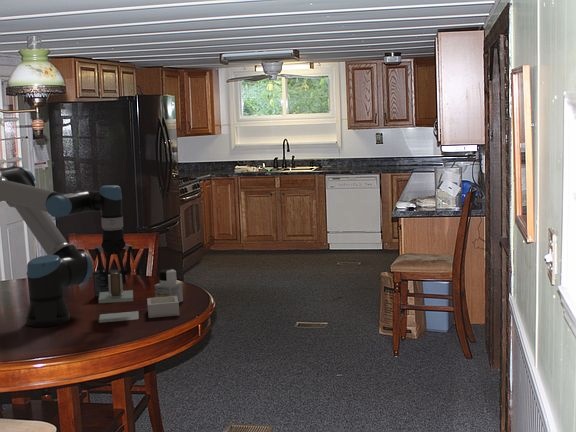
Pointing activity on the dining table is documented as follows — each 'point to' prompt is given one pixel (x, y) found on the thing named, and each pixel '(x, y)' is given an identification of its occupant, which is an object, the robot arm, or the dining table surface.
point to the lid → (115, 291)
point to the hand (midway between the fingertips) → (115, 292)
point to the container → (168, 285)
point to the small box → (101, 282)
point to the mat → (118, 316)
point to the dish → (163, 306)
